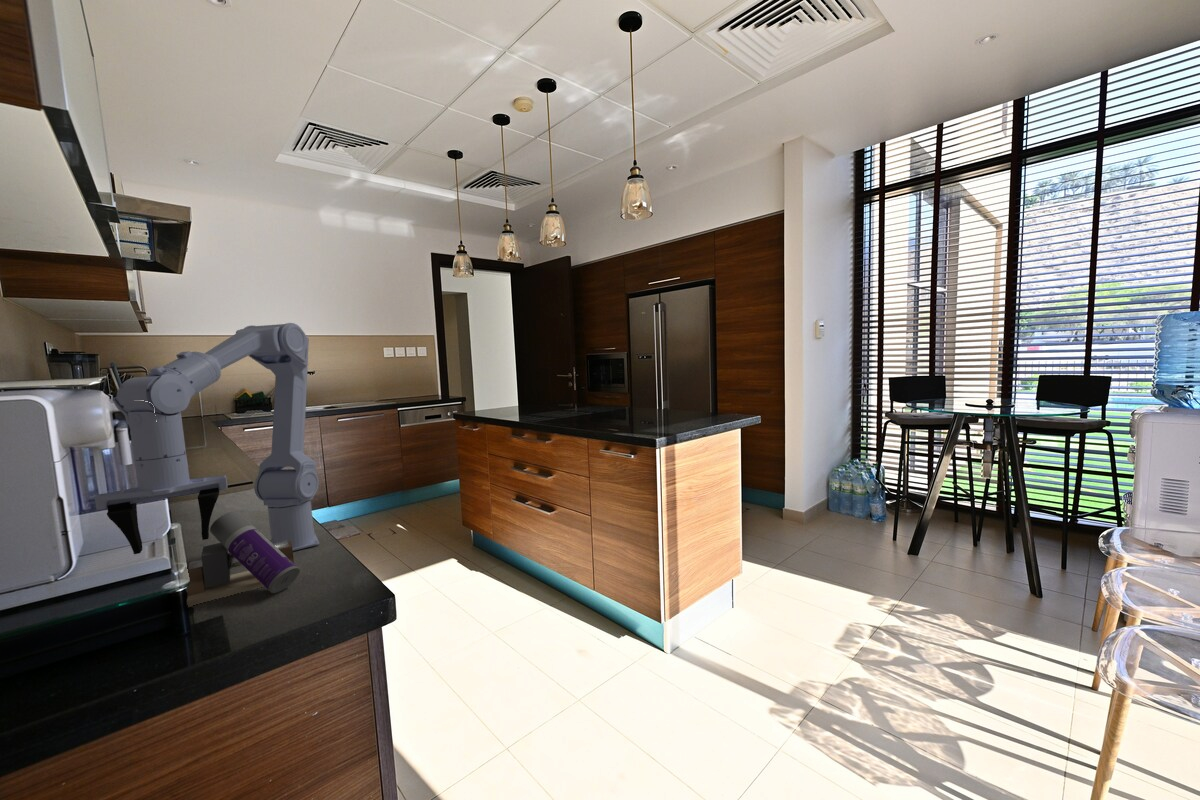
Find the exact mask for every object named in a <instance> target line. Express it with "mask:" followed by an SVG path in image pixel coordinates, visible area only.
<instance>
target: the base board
mask: <svg viewBox="0 0 1200 800" xmlns="http://www.w3.org/2000/svg"><path fill="white" fill-rule="evenodd" d="M279 550H280V551H281V552H282V553H283V554H284V555H285V556H286V557H287V558H288V559H289V560H290V561H291V562H293V563H294V564H295V559H294V558H295V557H294V551H293V549H292V544H291V541H290V542H288V546H287V547H283V548H279ZM186 565H187V569H188V573H189V577H190V584H189V586H188V587H187V586H186V593H187V598H186V606H187V605H188V607H187V608H190V607H194V606H193V605H195V606H197V605H196V604H198V605H200V604H199V603H202V604H204V603H203V602H206V601H209V600H213V601H215V600H214V599H217V600H219V599H218V598H221V599H223V598H222V597H224V598H228V597H231V596H230V595H232V596H235V595H234V594H236V595H238V594H237V593H239V594H242V593H241V592H243V593H246V591H247V592H250V591H253V590H258V589H262V588H266V587H265V586H264V585H263V584H262V583H261V582H260V581H259V580H258V579H257V578H256V577H255V576H254V575H253V574H252V573H250V572H249V571H248V570H246V571H242V572H238V573H233V574H230V582H228V583H225V584H221V585H217V586H213V587H209V588H205V582H204V575H203V573H202V567H197V568H193V569H189V564H186ZM261 587H262V588H261ZM257 588H258V589H257ZM227 596H228V597H227ZM206 603H207V602H206Z"/></svg>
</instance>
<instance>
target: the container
mask: <svg viewBox="0 0 1200 800" xmlns="http://www.w3.org/2000/svg"><path fill="white" fill-rule="evenodd" d="M209 533H211V534H212V535H213V536H214V537H215V539H216V540H217V541H219V543H221V544H222V545H223V546H224V547H225V548H226V549H227V550H228V553H231V554H232V555H233V556H234V557H235V558H236V559H237V560H238V561H239V562H240V563H241V564H242V565H243V567H244V568H245V569H246V571H249V572H250V573H252V574H253V575H254V576H255V577H256V578H257V579H258V580H259V581H260V582H261V583H262V584H263V585H264V586H265V587H264V588H266V589H267V590H268V591H269V592H270V593H271V594H276V593H279V592H281V591H283V590H285V589H287V588H288V587H290V586H291V584H293V582H294V581H296V579H297V578H298V576H299V574H300V571H301V570H300V568H299V567H298V566H297V565H296V564H295V562H294V563H293V562H291V561H290V560H289V559H288V558H287V557H286V556H285V555H284V554H283V553H282V552H281V551H280V550H279V549H278V548H277V547H276V546H274V545H273V544H272V543H271V542H270V540H269V538H267V537H266V535H264V534H263V533H261V531H260V530H258V529H257V528H256V527H255V525H253V524H252V523H250V521H248V520H247V519H246V518H245V517H243V516H242V515H241V514H240V513H239V512H238V511H230V512H227V513H225V514H223V515H220V516H219V517H217V519H216V520H214V521H213V523H212V524H211V525H210V526H209Z"/></svg>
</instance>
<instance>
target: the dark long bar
mask: <svg viewBox="0 0 1200 800" xmlns="http://www.w3.org/2000/svg"><path fill="white" fill-rule="evenodd" d="M273 545H274V546H276V547H277V548H278V549H279V548H283V547H287V546H288V540H286V541H282V542H278V543H273ZM227 561H228V569H230V570H231V569H234V568H238V567H242V566H243V565H242V564H241V563H240V562H239V561H238V560H237V559H236V558H235V557H234V556H233V555H232V554H231V553H230V552H228V554H227ZM188 565H189V569H193V568H197V567H202V573H203V566H202V559H199V560H194V561H190V562H189V563H188ZM243 567H244V566H243ZM203 575H204V574H203Z"/></svg>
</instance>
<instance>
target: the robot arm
mask: <svg viewBox="0 0 1200 800" xmlns="http://www.w3.org/2000/svg"><path fill="white" fill-rule="evenodd" d="M309 342H310V339H309V337H308V336H307V335H306V333H305V332H304V330H303V329H302V327H300V326H299V325H298V324H296V323H295V322H288V323H287V322H286V323H283V324H282V323H279V324H278V323H277V324H267V325H265V324H264V325H247V326H245V327H244V328H241V329H237V330H236V331H235V334H233V335H231V336H230V337H228V338H227V339H225V340H223V341H221V342H220V343H219V344H218V345H215V346H214V347H212V348H210V349H209V350H207V351H206V352H200V351H189V350H187V351H181V352H179V353H177V354H176V358H177V359H175V360H172V361H170V362H169V363H167V364H165V365H163V366H154V367H152V368H151V369H149V370H150V373H148V374H147V375H146V376H141V377H140V376H139V377H137V376H136V377H132V378H128V379H127V380H125V381H124V382H122V383H121V385H120V386H119V388H118V390H117V393H116V396H115V397H113V398H112V401H113V403H114V406H115V407H116V408H117V409H118V411H119V412H121V413H122V414H123V415H124V418H125V425H128V427H129V430H130V436H131V437H130V438H131V443H132V452H133V458H134V464H135V471H136V479H137V485H138V487H133V488H132V487H131V488H127V489H126V488H125V489H121V490H117V491H111V492H106V493H99V494H97V495H96V496H94V502H95V503H94V504H95V508H96V509H95V510H96V511H100V510H107V512H106V516H107V517H108V519H109V520H110V521H111V522H113V523H114V524H115V526H116V527H117V528H118V529H119V530H120V531H121V532H122V534H123V535H124V537H125V538H126V540H127V541H128V543H129V545H130V547H131V550H132V552H133V555H137V554H141V553H142V551H143V541H142V537H141V533H140V528H139V519H138V506H137V504H138V503H144V502H149V501H150V502H151V501H157V500H163V499H168V498H174V497H182V496H188V495H194V494H198V495H197V501H198V508H199V513H200V520H201V521H200V522H201V538H202V541H204V540H205V541H206V540H209V538H210V537H209V536H210V534H209V533H210V522H211V518H212V515H213V511H214V508H215V505H216V504H217V501H218V499H219V496H220V491H222V490H227V489H228V487H229V486H228V480H227V475H226V474H225V475H218V476H210V477H209V476H208V477H199V478H191V479H190V470H189V465H188V457H187V451H186V441H185V434H184V433H185V432H184V425H183V419H182V418H183V417H182V412H183V411H185V410H186V409H187V408H188V407H189V404H190V403H191V398H192V397H195V395H197V394H199V393H200V392H202V391H204V390H205V389H206V388H209V387H210V386H212V385H213V384H215V383H216V382H218V381H219V380H220V378H221V375H222V373H221V372H222V370H223V369H225V368H227V367H229V366H231V365H232V364H235V363H237V362H239V361H241V360H242V359H245V358H246V357H248V358H251V359H252V360H254V361H255V362H256V363H258V364H260V365H261V366H262V367H264V368H265V369H267V370H270V371H271V372H272V373H273V375H274V376H275V383H274V384H275V385H274V402H273V417H272V418H273V419H272V433H271V434H272V436H271V452H270V453H271V454H270V455H268V456H267V457H266V458H265V459H264V460H263V461H261V462H260V464H259V471H258V473H257V476H256V478H255V481H254V486H253V487H254V493H255V496H256V497H257V498H258V499H259V500H261V501H263V506H265V507H266V506H267V513H268V522H269V531H270V538H271V540H269V541H270V542H271V543H272V544H273V543H278V542H282V541H286V540H288V542H290V541H291V544H292V549H293V552H295V551H298V550H302V549H306V548H311V547H315V546H318V545H319V544H320V541H319V539H318V536H317V534H316V532H315V529H314V520H313V511H312V510H313V509H312V501H311V500H313V499H314V498H315V497H314V496H315V495H316V493H317V492H318V489H319V486H320V485H319V483H320V481H319V480H320V479H319V476H318V473H317V463H316V461H315V460H313V459H312V458H311V457H309V456H308V455H306V454H305V451H304V449H305V435H306V434H305V433H306V432H305V429H306V410H307V408H306V407H307V392H308V389H307V387H308V365H309V364H308V362H309V361H308V360H309V345H310V344H309ZM134 400H144V401H134ZM145 401H148V402H145ZM149 402H151V403H152V404H153V405H154V407H155V413H154V407H153V405H152V404H151V403H149ZM155 415H156V416H155ZM156 419H157V422H156ZM288 467H290V468H289V469H288ZM284 468H287V469H284ZM292 468H293V469H292Z"/></svg>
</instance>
